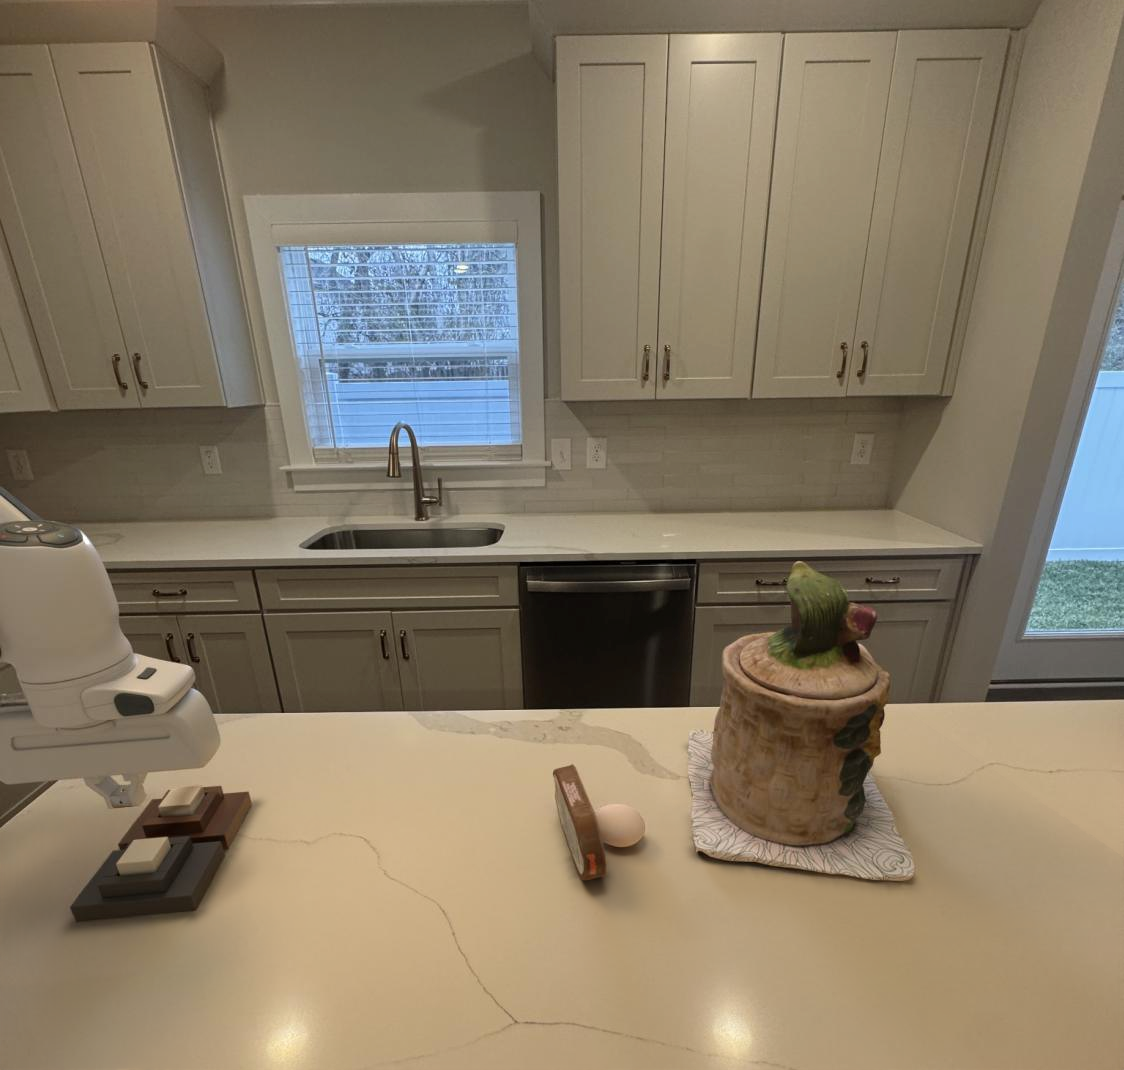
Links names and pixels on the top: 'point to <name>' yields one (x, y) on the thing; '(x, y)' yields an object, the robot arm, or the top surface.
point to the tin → (579, 823)
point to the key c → (144, 856)
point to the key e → (182, 801)
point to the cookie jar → (799, 745)
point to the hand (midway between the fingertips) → (128, 803)
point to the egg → (620, 825)
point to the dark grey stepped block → (151, 884)
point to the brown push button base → (194, 819)
